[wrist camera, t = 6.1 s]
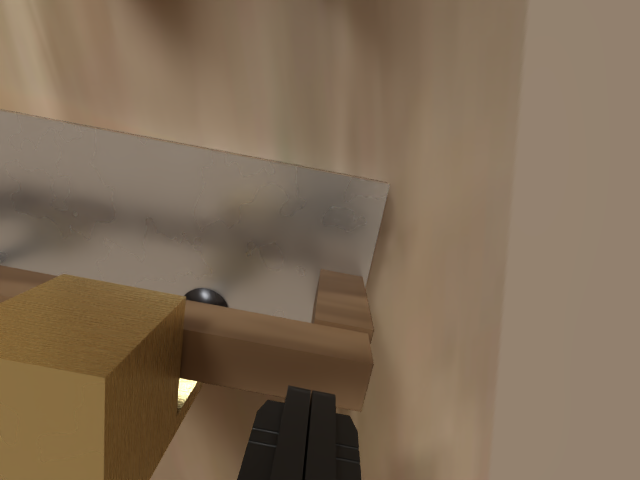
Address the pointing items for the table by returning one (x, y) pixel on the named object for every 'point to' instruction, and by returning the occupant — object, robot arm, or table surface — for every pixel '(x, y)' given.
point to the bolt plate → (179, 216)
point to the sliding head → (90, 380)
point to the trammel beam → (269, 341)
